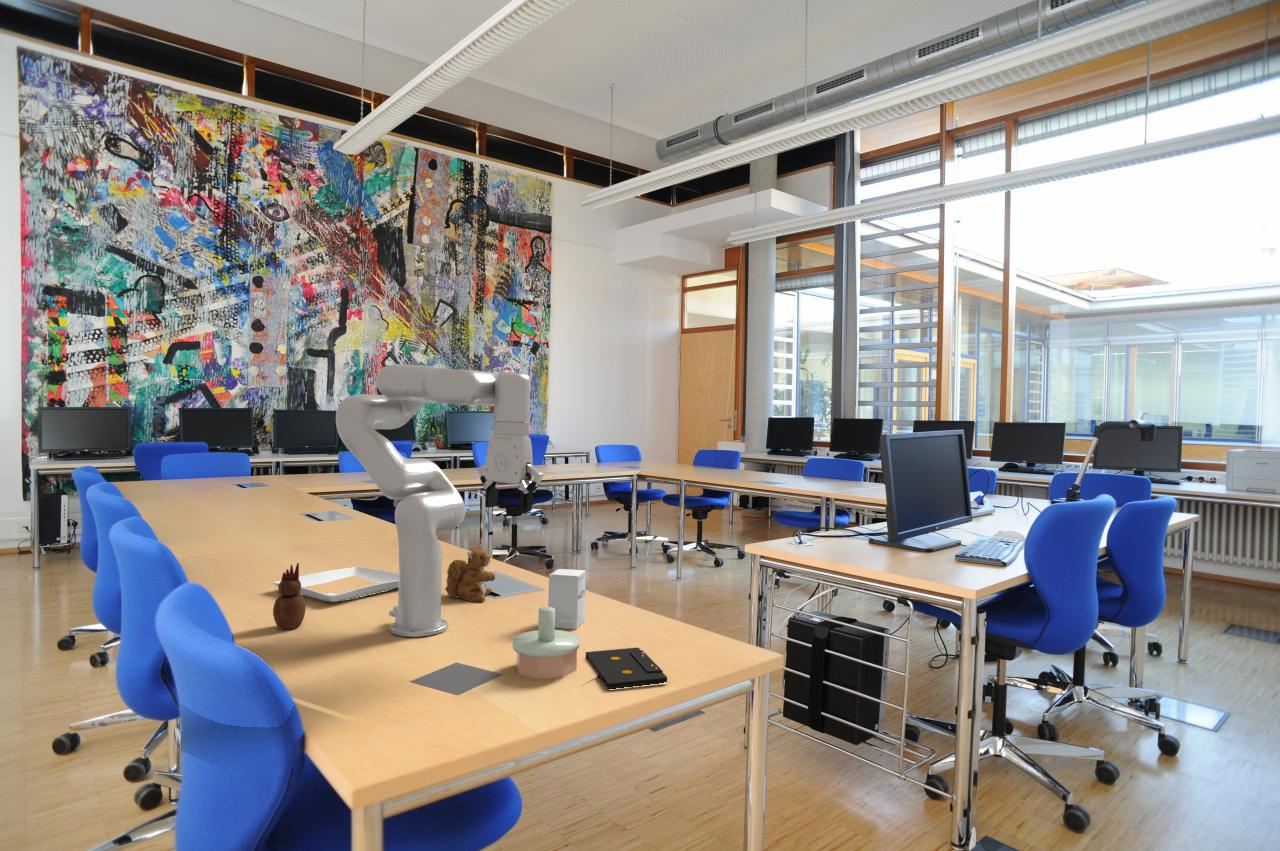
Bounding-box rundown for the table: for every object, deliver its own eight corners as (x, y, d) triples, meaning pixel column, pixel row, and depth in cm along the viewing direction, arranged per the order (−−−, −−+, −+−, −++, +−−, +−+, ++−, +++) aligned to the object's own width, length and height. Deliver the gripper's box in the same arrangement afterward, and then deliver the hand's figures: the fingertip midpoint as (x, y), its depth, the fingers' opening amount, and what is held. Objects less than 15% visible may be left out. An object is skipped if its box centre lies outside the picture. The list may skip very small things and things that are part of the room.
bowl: (505, 674, 137) (506, 648, 137) (541, 657, 146) (541, 633, 146) (552, 685, 131) (552, 659, 131) (585, 668, 141) (586, 643, 141)
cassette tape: (667, 687, 133) (667, 675, 133) (608, 693, 130) (608, 682, 130) (638, 656, 150) (638, 645, 150) (585, 661, 147) (585, 650, 147)
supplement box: (577, 629, 166) (578, 576, 166) (546, 627, 168) (547, 574, 168) (585, 621, 174) (586, 569, 173) (556, 618, 175) (557, 567, 175)
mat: (409, 684, 131) (409, 681, 131) (456, 665, 141) (456, 662, 141) (458, 698, 125) (458, 694, 125) (503, 677, 135) (503, 674, 135)
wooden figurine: (310, 626, 165) (311, 562, 165) (288, 633, 160) (289, 566, 160) (290, 622, 168) (290, 559, 168) (268, 628, 163) (269, 563, 163)
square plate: (416, 589, 204) (416, 575, 204) (330, 610, 181) (330, 594, 181) (357, 576, 218) (357, 563, 218) (270, 594, 195) (270, 580, 195)
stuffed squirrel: (485, 603, 189) (486, 553, 188) (436, 599, 191) (436, 551, 191) (499, 594, 198) (500, 547, 198) (452, 591, 201) (453, 544, 201)
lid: (498, 649, 136) (499, 611, 136) (540, 631, 148) (540, 597, 148) (553, 661, 130) (554, 622, 130) (592, 642, 141) (592, 606, 141)
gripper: (469, 428, 154) (466, 506, 154) (531, 432, 145) (528, 515, 146) (492, 428, 161) (489, 503, 161) (553, 432, 152) (550, 511, 152)
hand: (508, 509), depth 153 cm, fingers open, 9 cm apart
